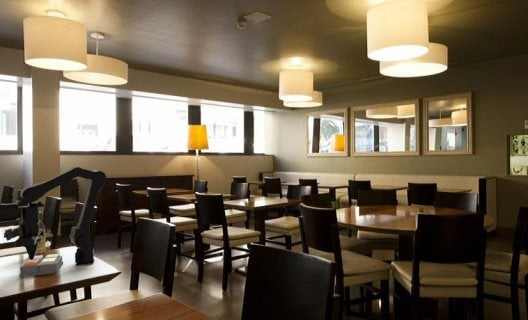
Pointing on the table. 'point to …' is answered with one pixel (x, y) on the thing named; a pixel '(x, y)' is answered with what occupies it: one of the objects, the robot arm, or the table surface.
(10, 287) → the table surface
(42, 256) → the grey key
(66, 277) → the table surface
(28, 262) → the terracotta key
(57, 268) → the keypad housing
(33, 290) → the table surface
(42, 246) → the sauce bottle
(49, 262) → the cream key
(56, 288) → the table surface
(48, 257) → the sage key
